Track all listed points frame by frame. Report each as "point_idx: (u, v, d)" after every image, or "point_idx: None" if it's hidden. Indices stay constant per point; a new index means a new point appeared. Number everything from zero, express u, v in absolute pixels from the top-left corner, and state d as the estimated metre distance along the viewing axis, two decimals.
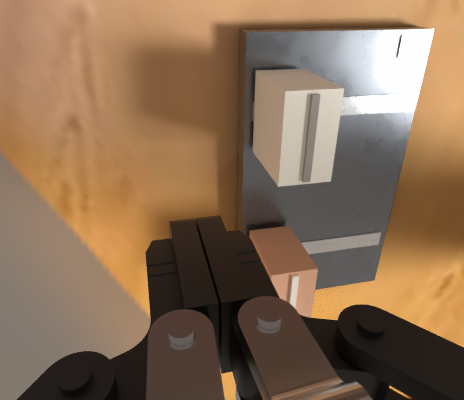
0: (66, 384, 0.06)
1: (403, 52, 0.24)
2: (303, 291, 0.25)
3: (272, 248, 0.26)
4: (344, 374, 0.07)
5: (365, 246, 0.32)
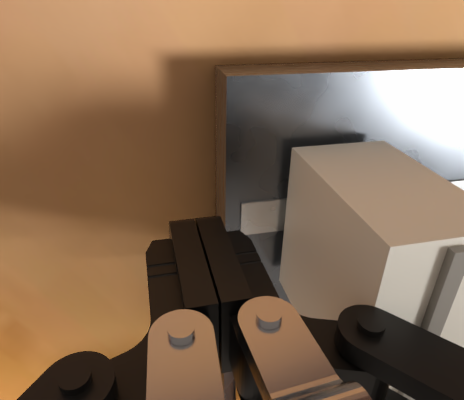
0: (66, 384, 0.06)
1: None
2: None
3: None
4: (344, 374, 0.07)
5: None
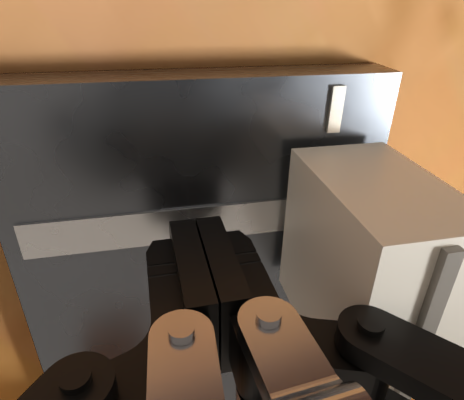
0: (66, 384, 0.06)
1: (338, 119, 0.12)
2: None
3: None
4: (343, 374, 0.07)
5: None
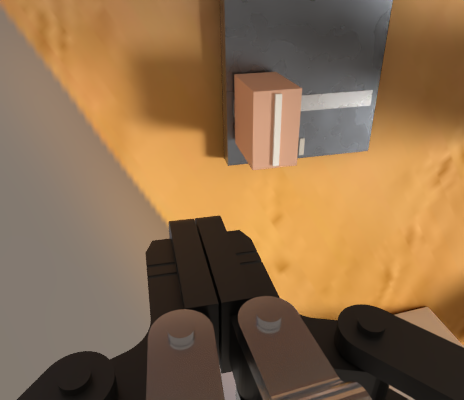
0: (66, 384, 0.06)
1: None
2: (288, 117, 0.24)
3: (256, 80, 0.25)
4: (344, 374, 0.07)
5: (356, 106, 0.31)
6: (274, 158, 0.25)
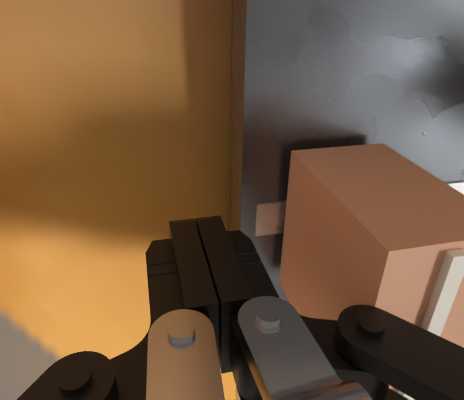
0: (66, 384, 0.06)
1: None
2: (463, 302, 0.09)
3: (360, 183, 0.10)
4: (344, 374, 0.07)
5: None
6: None
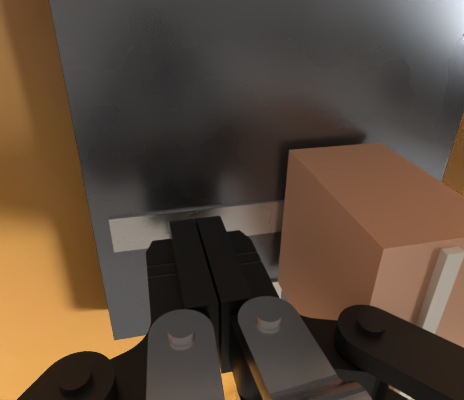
0: (66, 384, 0.06)
1: None
2: (458, 300, 0.09)
3: (357, 182, 0.10)
4: (344, 374, 0.07)
5: None
6: None
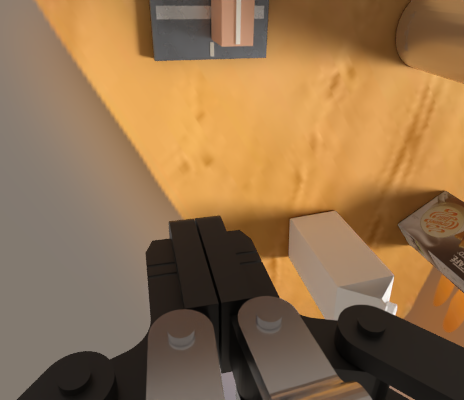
0: (66, 384, 0.06)
1: None
2: (246, 7, 0.35)
3: None
4: (344, 374, 0.07)
5: None
6: (236, 37, 0.36)
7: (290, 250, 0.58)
